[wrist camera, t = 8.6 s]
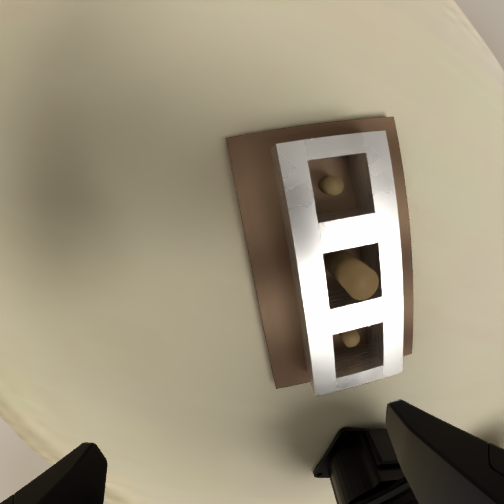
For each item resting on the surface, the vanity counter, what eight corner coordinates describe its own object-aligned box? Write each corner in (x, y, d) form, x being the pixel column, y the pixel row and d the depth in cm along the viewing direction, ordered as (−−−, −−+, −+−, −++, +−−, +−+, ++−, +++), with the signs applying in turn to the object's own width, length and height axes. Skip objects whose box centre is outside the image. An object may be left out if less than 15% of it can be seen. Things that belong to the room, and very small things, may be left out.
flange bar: (385, 350, 20) (402, 372, 17) (307, 371, 20) (315, 396, 17) (365, 136, 17) (385, 130, 14) (270, 149, 17) (276, 143, 14)
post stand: (407, 348, 21) (439, 384, 16) (275, 382, 21) (283, 430, 16) (387, 118, 17) (429, 104, 13) (226, 140, 18) (221, 125, 13)
